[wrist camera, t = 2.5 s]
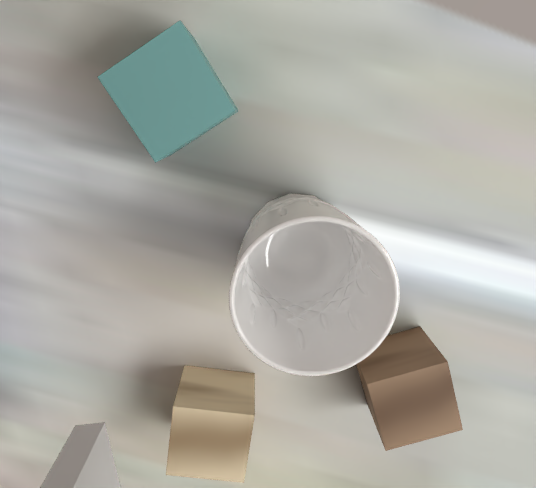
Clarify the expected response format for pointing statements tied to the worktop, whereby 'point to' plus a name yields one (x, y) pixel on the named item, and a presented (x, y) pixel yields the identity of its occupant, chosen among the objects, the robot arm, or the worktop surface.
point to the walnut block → (409, 390)
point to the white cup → (311, 288)
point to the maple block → (212, 424)
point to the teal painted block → (168, 92)
